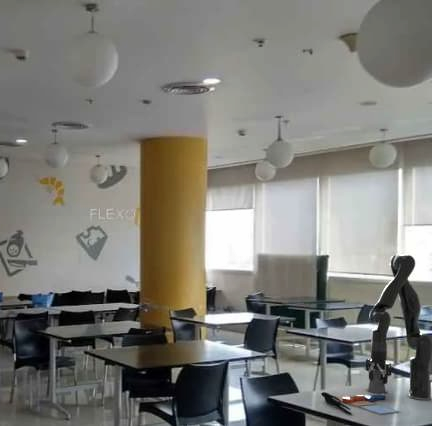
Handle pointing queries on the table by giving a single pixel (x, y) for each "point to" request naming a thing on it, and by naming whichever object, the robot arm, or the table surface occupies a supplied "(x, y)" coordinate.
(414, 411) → the table surface
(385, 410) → the blue mat
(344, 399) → the terracotta spoon
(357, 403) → the terracotta mat
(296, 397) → the table surface
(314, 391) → the table surface
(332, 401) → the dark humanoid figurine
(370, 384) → the coffeepot
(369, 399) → the blue spoon
